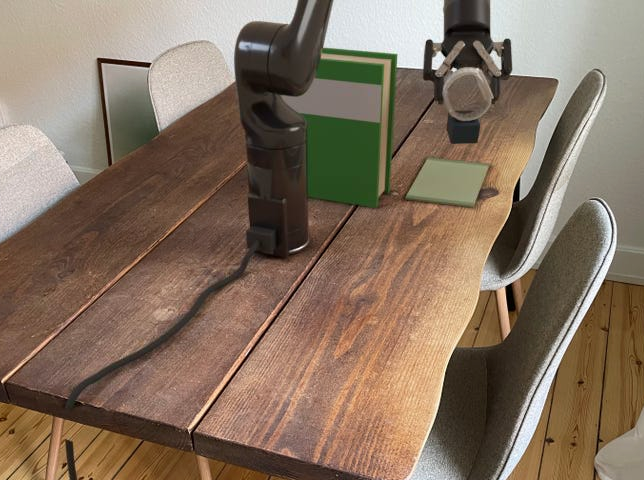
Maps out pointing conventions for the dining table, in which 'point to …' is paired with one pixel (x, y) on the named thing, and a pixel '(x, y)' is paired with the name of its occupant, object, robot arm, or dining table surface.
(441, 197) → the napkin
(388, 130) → the hardback book
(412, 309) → the dining table surface
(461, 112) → the watch
